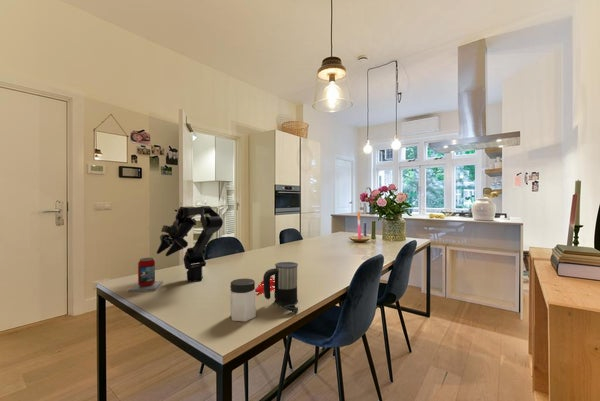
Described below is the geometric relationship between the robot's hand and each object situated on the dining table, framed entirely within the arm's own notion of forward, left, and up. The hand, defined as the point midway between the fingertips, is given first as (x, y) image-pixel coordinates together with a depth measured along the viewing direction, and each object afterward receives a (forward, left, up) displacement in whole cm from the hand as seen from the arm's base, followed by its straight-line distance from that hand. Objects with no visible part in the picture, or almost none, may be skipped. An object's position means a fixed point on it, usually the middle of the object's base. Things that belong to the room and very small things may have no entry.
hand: (161, 254), depth 136 cm
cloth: (-50, +15, -14) cm, 54 cm away
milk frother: (-55, +41, -14) cm, 70 cm away
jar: (-39, +47, -14) cm, 63 cm away
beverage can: (+5, +6, -13) cm, 15 cm away
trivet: (+5, +6, -14) cm, 16 cm away
